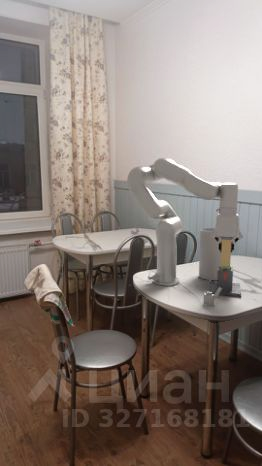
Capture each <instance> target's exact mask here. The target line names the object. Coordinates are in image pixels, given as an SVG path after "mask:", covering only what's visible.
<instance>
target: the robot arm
mask: <svg viewBox="0 0 262 466" xmlns="http://www.w3.org/2000/svg"><path fill="white" fill-rule="evenodd" d="M163 179H164V180H166V181H169V182H171V183H172V184H175V185H176V186H179V187H180V188H181V189H183V190H184V191H186V192H188V193H190V194H191V195H193V196H195V197H197V198H199V199H202V200H204V201H212V200H216V199H219V204H218V205H219V207H218V208H217V207H216V208H215V212H218V213H217V214H216V220H215V227H214V228H215V230H214V231H213V233H212V234H211V237H213V238H214V239H215V240H216V241H217V242H218V243H219V249H218V250H220V252H222V241H221V237H231V238H232V240H231V253H233V251H235V244H236V243H237V242H238V241H239V240H241V239H243V238H244V235H243V233H242V232H241V230H240V216H239V214H238V196H239V195H238V193H239V186H238V183H235V182H223V183H221V182H216V181H215V182H212V181H210V182H209V181H205V180H203V179H202V178H200V177H198V176H196V175H194V174H193V173H192V172H191V170H190V169H188V168H186V167H184V166H183V165H180V164H177V163H176V162H175V161H174V160H173V159H171V158H164V157H160V158H157V159H156V160H155V161H154V162H153V164H151V165H148V166H145V165H144V166H141V165H140V166H136V167H133V168H132V169H130V171H129V173H128V175H127V179H126V180H127V181H126V184H127V188H128V190H129V192H130V193H131V195H132V197H133V198H134V199H135V201H136V202H137V203H138V204H137V205H139V206H140V208H141V210H142V211H143V213H144V214H145V216H147V218H148V219H149V220H152V221H159V222H158V223H157V224H156V227H155V237H156V272H154V274H153V275H147V280H149V281H150V280H152V281H153V283H155V284H156V285H159V286H163V287H164V286H166V287H167V286H170V287H171V286H176V285H178V284H179V283H180V279H179V278H178V277H177V256H178V255H177V254H178V251H177V250H178V249H177V238H176V236H177V235H179V234H180V233H181V231H182V230H183V223H182V220H181V219H180V218H179V216H178V215H177V213H176V212H175V210H174V209H173V208H172V206H171V204H170V203H168V202H167V201H166V200H164V199H157V197H155V195H154V193H153V192H152V191H151V190H150V189H149V188H148V187H147V185H146V184H152V183H154V182H157V181H159V180H163ZM215 235H216V236H215ZM218 237H219V238H218Z"/></svg>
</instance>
